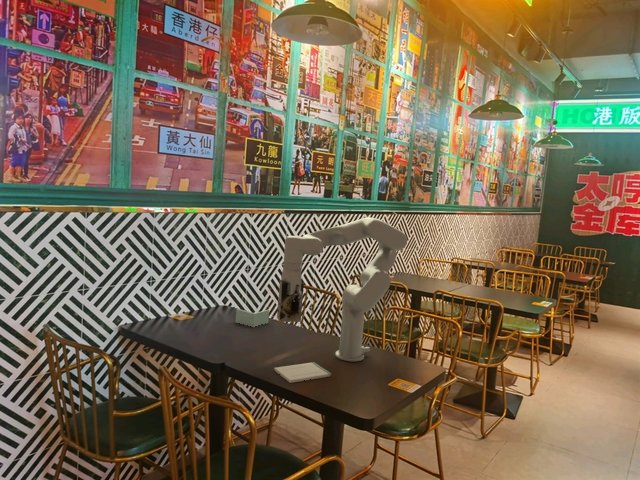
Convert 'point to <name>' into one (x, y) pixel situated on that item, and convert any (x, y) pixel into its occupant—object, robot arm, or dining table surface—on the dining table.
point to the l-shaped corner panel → (252, 317)
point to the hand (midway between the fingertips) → (289, 308)
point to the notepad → (302, 372)
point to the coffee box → (288, 304)
